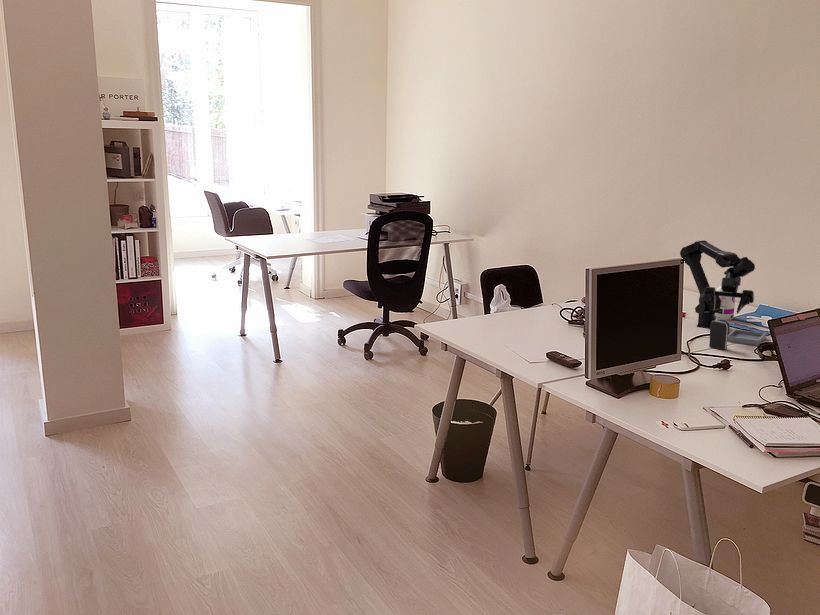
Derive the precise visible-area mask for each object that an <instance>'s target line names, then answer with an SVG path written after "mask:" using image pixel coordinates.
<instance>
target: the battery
mask: <svg viewBox="0 0 820 615" xmlns="http://www.w3.org/2000/svg"><path fill="white" fill-rule="evenodd" d="M730 327H731V326H730V323H729V322H728V321H726V320H719V319H716V320H715V321H712V322H711V325H710V328H709V345H708V347H710V348H712V347H713V349H716V348H717V350H723V351H724V350H727V349H728V345H727V344H728V341H727V337H728V335H729V334H730V331H731V330H730Z"/></svg>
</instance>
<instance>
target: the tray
mask: <svg viewBox="0 0 820 615" xmlns="http://www.w3.org/2000/svg"><path fill="white" fill-rule="evenodd" d="M766 335H767V333H766V332H759V331H750V330H743V329H737V328H736V329H735V328H734V329H733V330H732V331H731V332H729V335H728V337H727V343H728V342H729V343H736V344H744V345H749V346H750V345H751V346H755V347H756V346H757V347H759V346H760V345H761V343H762V342H763V341H765V340H766V338H767V336H766Z"/></svg>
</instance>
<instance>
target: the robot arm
mask: <svg viewBox="0 0 820 615" xmlns="http://www.w3.org/2000/svg"><path fill="white" fill-rule="evenodd" d="M702 254H704V255H707V256H708V257H710V258H712V259H714V260H715V264H716V265H717V266H719V267H720V268H727V269H726V271H724V272H723V274H724V275H725V276H724V277H722V279H721V285H720V286H722V287H721V289H722V291H716V290H717V288H716V287H713V286H710V284H709V281H708V278H707V276H706V273H705V271H704V268H703V265H702V264H701V262H702V261H701V260H702V256H703V255H702ZM679 255H680V257H681V259H682V258H683V259H684V261H685V262H684V261H683V262H684V263H685V264H686V265H687V266H688V267H689V269H690V272H691V275H692V278H693V279H694V281H695V284H696V285H695V286H696V287H697V289H698V292H699V297H698V303H699V304H697V305H696V306H695V308H694V310H695V311H694V312H695V313H696V314H698V317H697V318H698V320H697V324H696V327H697V328H699V327H700V328H706V329H710V325H711V322H712V321H715V320H717V319H716V316H715V313H718V312H719V309H720V306H721V301H720V300H721V299H720V298H719V296H727V297H735V299H736V298H740V299H739V302H738V305H737V308H736V309H737V310H736V314H739V313H740V311H741V310H742V309H744V308H745V307H746V306H747V305H749V304H752V303H754V301H755V293H754V291H753V290H751V289H743V290H742V292H738V290H739V286H741V282H742V281H741V280H742V278H744V277H745V276H748V275H749V274H751V273H752V272H754V271H755V270H756V267H755V266H756V265H755V263H754V262H753V261H752V260H751V259H748V256H743V257H742V258H740V257H739V256H738V255H737V254H736V253H735V252H731V251H726V250H722V249H720V248H718V247H716V246H715V245H713V244H711V243H710V242H708V241H707V240H705V239H704V240H703V239H701V240H697V241H695V242H692V243H691V244H689V245H687V246H683V247H682V248H681V250H680V252H679Z"/></svg>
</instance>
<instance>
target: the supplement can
mask: <svg viewBox="0 0 820 615" xmlns="http://www.w3.org/2000/svg"><path fill="white" fill-rule="evenodd" d="M721 287H722V285H718V286H717V288H716V291H722V289H721ZM719 298H720V299H721V300H720V301H721V306H720V309H719V312H718V313H715V316H716V320H720V321H730V320H729V319H732V320H733V319H734V317H735V308H736V307H735V306H736V297H727V296H719Z"/></svg>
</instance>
